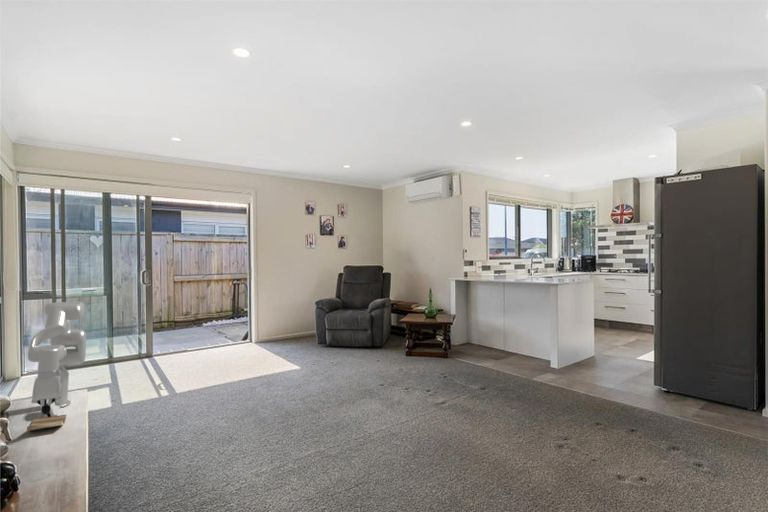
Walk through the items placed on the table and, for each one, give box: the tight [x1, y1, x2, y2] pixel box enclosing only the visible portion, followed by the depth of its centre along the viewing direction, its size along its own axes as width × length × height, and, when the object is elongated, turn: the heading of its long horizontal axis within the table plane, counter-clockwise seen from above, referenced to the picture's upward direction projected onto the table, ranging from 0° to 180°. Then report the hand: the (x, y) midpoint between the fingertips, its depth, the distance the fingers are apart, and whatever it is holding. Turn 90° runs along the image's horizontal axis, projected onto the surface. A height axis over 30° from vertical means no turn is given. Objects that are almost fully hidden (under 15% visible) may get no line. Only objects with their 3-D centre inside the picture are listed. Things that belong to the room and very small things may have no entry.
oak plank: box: [26, 421, 65, 432], centre depth 186 cm, size 11×12×2 cm
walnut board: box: [30, 414, 67, 426], centre depth 195 cm, size 12×13×2 cm
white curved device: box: [40, 399, 61, 418], centre depth 207 cm, size 17×5×10 cm, turn 38°
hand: (45, 413), depth 182 cm, fingers closed
